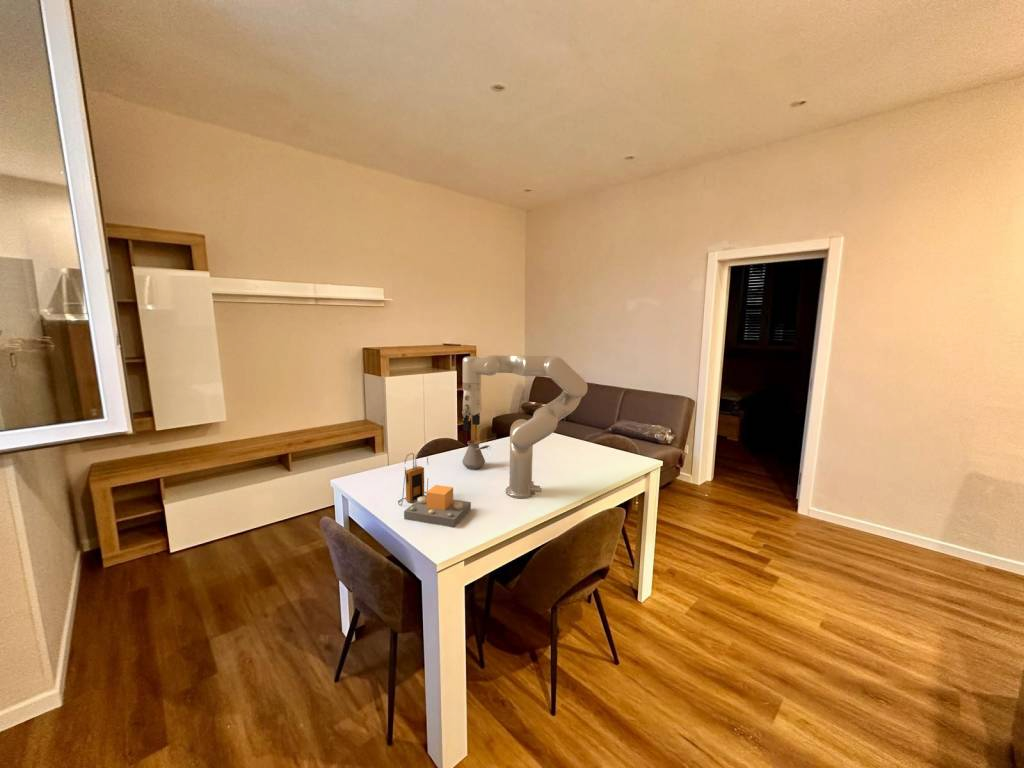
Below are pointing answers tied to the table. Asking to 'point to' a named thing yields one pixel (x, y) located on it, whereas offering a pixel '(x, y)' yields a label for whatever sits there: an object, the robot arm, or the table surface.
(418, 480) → the multimeter
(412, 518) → the grey flat block
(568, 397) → the robot arm
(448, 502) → the orange block
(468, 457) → the coffee pot
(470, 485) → the table surface
